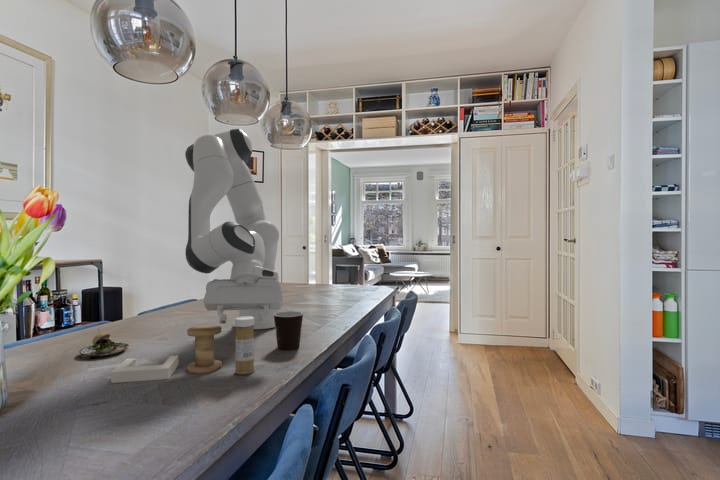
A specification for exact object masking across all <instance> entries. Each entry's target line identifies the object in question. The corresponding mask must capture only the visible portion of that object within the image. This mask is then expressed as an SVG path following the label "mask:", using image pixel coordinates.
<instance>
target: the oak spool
mask: <svg viewBox="0 0 720 480" xmlns="http://www.w3.org/2000/svg"><path fill="white" fill-rule="evenodd" d="M186 332H187V336H189V337H194V339H195V340H194V343H195V344H194V345H195V346H194V347H195V348H194V350H195V351H194V352H195V353H194V354H195V355H194V358H195V359H194V361H192V362H190V363H189V364H188V365H187V373H190V374H194V375H203V374H204V375H205V374H211V373H214V372H216V371H219V370H220V369H222V366H223V365H222V364H223V363H222V361H221V360H218V359H215V336H216V335H218V334H221V333H222V326H221V325H215V324H214V325H213V324H206V325H204V324H203V325H196V326H192V327H190V328H188V329H187V331H186Z"/></svg>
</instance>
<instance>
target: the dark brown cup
mask: <svg viewBox="0 0 720 480" xmlns="http://www.w3.org/2000/svg"><path fill="white" fill-rule="evenodd" d="M303 316H304V312H302V311H296V310H295V311H294V310H288V311H287V310H286V311H280V312H278V313H275V314H274V321H275V327H274V329H275V336H276V337H275V338H276V346H277V349H278V350H281V351H294V350H297V349H299V348H300V343H301V337H302V336H301V335H302V328H303V327H302V326H303V318H304V317H303Z"/></svg>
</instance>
